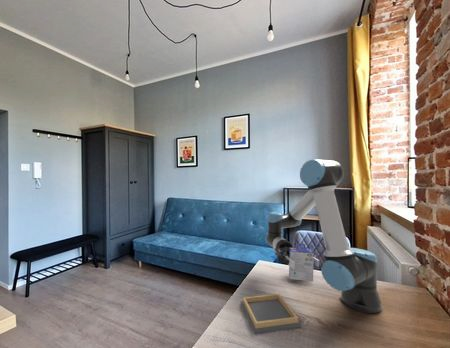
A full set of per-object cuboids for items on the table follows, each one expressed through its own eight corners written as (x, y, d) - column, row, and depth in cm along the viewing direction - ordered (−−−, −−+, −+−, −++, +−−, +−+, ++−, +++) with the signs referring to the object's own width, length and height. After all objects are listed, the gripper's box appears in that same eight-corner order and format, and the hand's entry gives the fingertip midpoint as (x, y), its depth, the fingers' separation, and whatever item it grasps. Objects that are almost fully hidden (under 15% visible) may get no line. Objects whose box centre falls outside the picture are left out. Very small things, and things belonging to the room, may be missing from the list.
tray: (279, 299, 99) (279, 292, 99) (301, 326, 81) (301, 318, 81) (240, 303, 95) (240, 296, 95) (254, 333, 77) (254, 325, 77)
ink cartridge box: (311, 276, 97) (312, 243, 97) (314, 282, 92) (314, 247, 92) (288, 273, 99) (289, 241, 99) (289, 279, 94) (290, 245, 94)
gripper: (302, 252, 116) (330, 271, 94) (261, 255, 111) (280, 275, 89) (303, 238, 115) (331, 254, 94) (261, 240, 111) (280, 257, 89)
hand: (306, 264), depth 92 cm, fingers closed on ink cartridge box, 11 cm apart
